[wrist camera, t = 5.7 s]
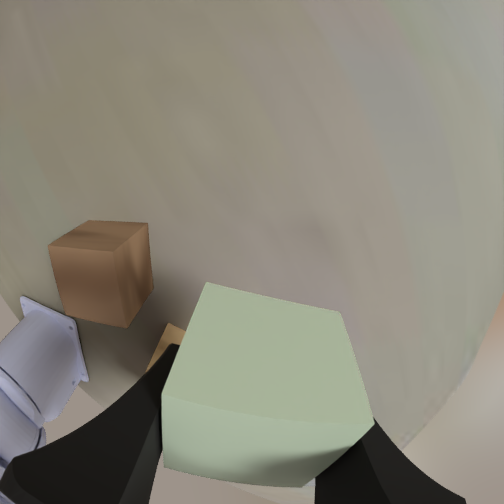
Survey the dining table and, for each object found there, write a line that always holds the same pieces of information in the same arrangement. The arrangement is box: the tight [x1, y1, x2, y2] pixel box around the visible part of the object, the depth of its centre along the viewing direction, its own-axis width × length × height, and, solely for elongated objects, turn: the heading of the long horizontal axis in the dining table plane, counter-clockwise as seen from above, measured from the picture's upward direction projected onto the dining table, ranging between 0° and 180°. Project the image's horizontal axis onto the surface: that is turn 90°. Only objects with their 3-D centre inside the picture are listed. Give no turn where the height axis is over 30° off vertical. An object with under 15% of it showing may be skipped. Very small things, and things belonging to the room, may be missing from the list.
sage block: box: [162, 282, 375, 487], centre depth 8 cm, size 5×5×5 cm
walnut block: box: [48, 220, 154, 328], centre depth 16 cm, size 5×5×5 cm
